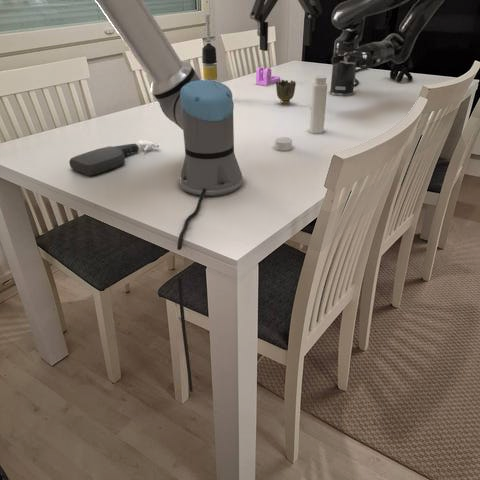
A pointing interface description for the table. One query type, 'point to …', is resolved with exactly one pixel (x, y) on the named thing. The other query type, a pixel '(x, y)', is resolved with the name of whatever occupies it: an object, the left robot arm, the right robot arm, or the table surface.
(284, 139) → the lid
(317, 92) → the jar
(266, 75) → the bracket
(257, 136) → the table surface
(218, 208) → the table surface
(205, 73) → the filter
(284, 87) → the cup
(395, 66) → the squiggle
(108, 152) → the spray bottle
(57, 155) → the table surface
